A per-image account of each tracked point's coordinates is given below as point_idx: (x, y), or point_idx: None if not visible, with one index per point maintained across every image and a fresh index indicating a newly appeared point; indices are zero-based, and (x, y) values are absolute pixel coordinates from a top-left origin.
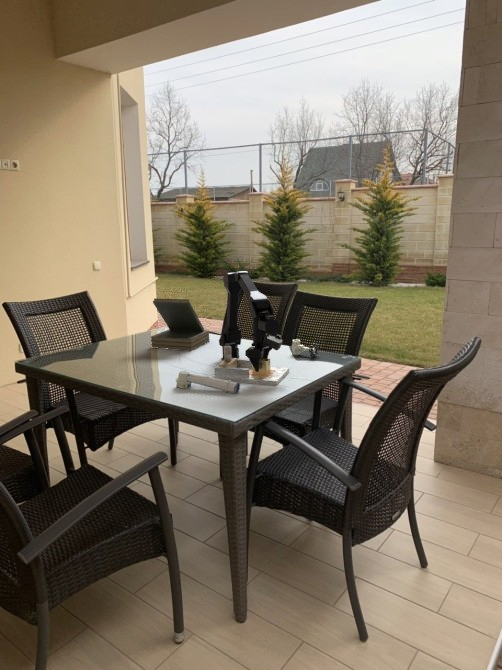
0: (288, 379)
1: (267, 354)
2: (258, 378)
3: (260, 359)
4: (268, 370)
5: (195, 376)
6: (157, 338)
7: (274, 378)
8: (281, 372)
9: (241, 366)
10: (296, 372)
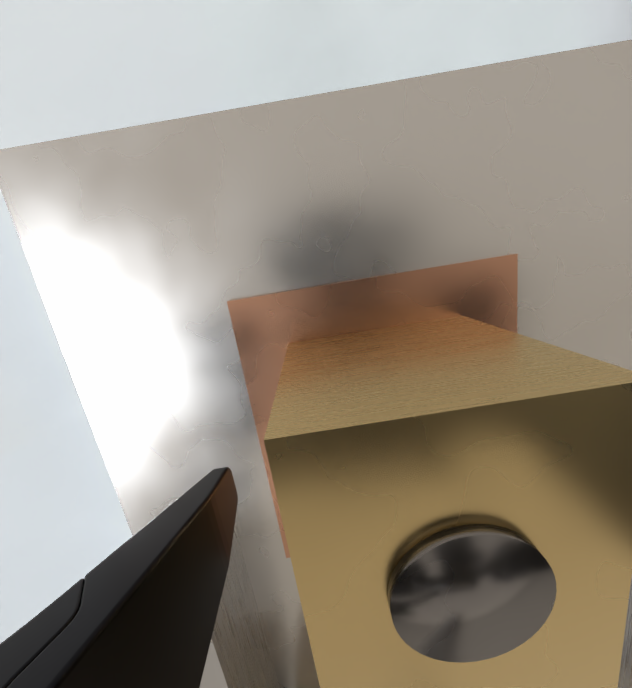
0: (371, 7)
1: (76, 672)
2: (625, 343)
3: (469, 615)
4: (382, 337)
5: None
6: None
7: (588, 128)
8: (271, 162)
9: (274, 682)
10: (14, 38)
